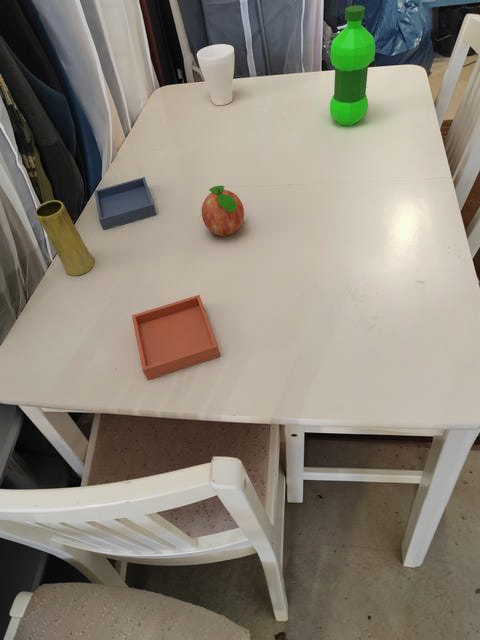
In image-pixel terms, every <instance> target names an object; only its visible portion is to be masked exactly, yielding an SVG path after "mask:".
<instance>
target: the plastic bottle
mask: <svg viewBox="0 0 480 640" xmlns="http://www.w3.org/2000/svg"><path fill="white" fill-rule="evenodd" d="M344 12H345V14H344V21H346V26H345V27H344V28H343V29H342V30H341V31H340V32H339V33H338V34H337V35H336V36H335V37H334V38H333V39H332V42H331V44H330V51H329V52H330V58H329V59H330V63H331V66H333V67H334V86H333V88H334V89H333V95H332V97H331V98H330V102H329V113H330V117H331V118H332V119H333V120H335V121H336V122H337V123H338V125H339V124H340V125H341V126H346V127H347V126H349V127H350V126H353V125H355V124H357V123H358V122H359V121H360V120H361V119H363V118H364V117H365V116H366V115H367V113H368V111H369V100H368V96H367V84H368V83H367V81H368V72H369V65H371V63H372V62H373V61H374V58H375V55H376V41H375V38H374V36H373V35H372V34H371V33H370V31H368V30H367V29H366V28H365V27H364V26H363V25H362V21H363V20H365V15H366V13H365V12H366V7H365V6H363V5H351V6H347V7H346V8H345V10H344Z"/></svg>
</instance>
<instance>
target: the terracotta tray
mask: <svg viewBox="0 0 480 640" xmlns="http://www.w3.org/2000/svg"><path fill="white" fill-rule="evenodd" d="M131 317H132V323H133V329H134V334H135V339H136V343H137V347H138V349H137V350H138V354H139V358H140V359H139V360H140V364H141V369H142V372H143V374H144V376H145V378H146V380H151V379H155V378H158V377H161V376H163V375H167V374H170V373H173V372H176V371H179V370H183V369H186V368H188V367H191V366H192V367H193V366H195V365H197V364H201V363H204V362H206V361H210V360H214V359H216V358H219V357H221V354H220V351H219V347H218V343H217V341H216V338H215V335H214V332H213V330H212V327H211V324H210V320H209V317H208V315H207V312H206V310H205V307H204V304H203V301H202V297H201V295H200V294H197V295H193V296H190V297H187V298H184V299H180V300H178V301H174V302H171V303H168V304H164V305H161V306H158V307H155V308H151V309H148V310H145V311H142V312H138V313H136V314H132V315H131Z"/></svg>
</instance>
